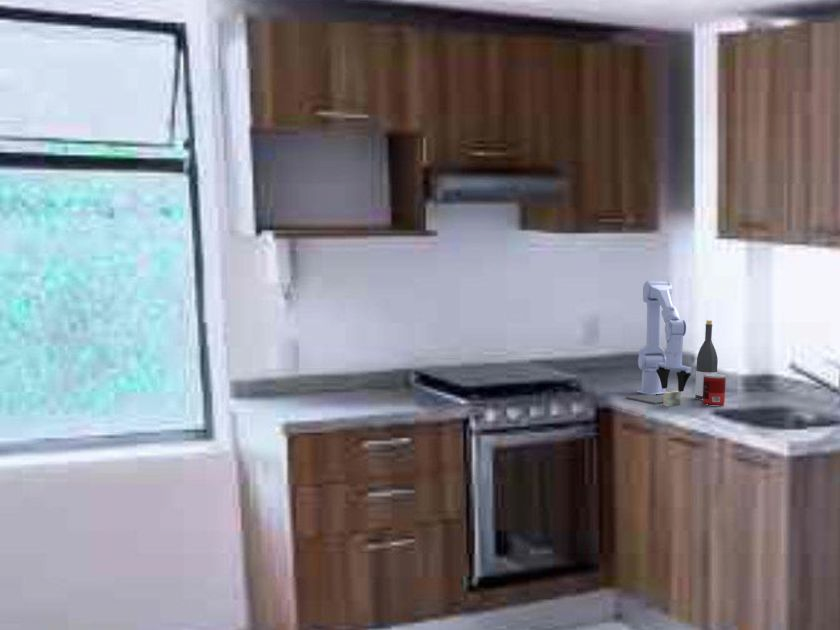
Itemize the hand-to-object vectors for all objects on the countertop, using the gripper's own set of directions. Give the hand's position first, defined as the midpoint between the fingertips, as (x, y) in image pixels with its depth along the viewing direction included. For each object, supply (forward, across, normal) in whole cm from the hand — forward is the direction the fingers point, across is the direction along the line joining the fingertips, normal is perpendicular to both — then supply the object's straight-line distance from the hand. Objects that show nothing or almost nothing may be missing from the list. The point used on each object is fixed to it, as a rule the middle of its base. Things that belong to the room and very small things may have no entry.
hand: (672, 389), depth 372 cm
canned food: (+6, +7, +15) cm, 18 cm away
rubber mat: (+6, -11, +2) cm, 13 cm away
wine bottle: (+6, -2, +22) cm, 23 cm away
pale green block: (+6, 0, 0) cm, 6 cm away
